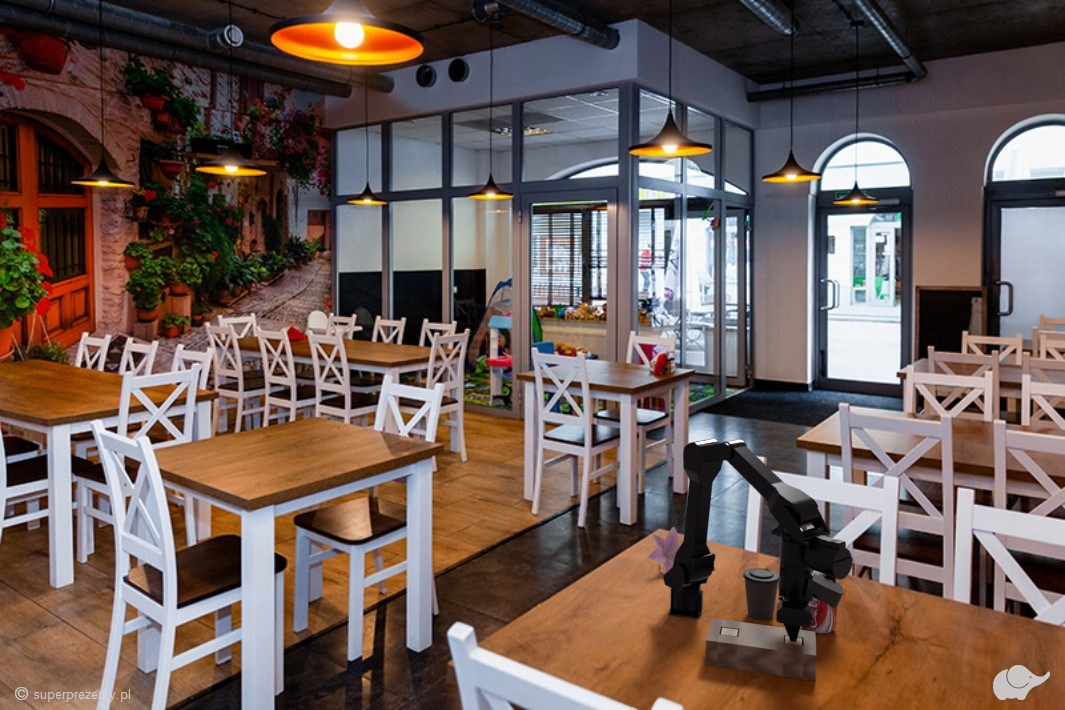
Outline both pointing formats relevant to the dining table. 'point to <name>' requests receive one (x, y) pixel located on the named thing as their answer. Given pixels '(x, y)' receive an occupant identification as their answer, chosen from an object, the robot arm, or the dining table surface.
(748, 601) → the coffee cup
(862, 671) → the dining table surface
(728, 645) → the grey peg board
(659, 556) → the lily
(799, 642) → the peg
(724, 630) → the peg
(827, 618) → the soda can
